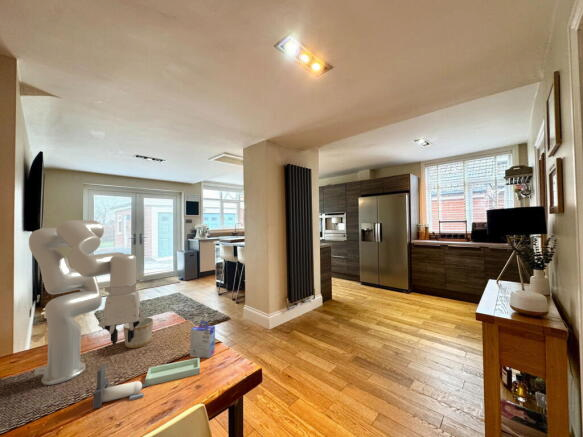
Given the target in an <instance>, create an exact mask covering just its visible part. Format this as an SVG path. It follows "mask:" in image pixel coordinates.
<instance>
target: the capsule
mask: <svg viewBox="0 0 583 437" xmlns="http://www.w3.org/2000/svg"><path fill="white" fill-rule="evenodd" d="M142 384H143V383H142V382H141V381H139V380H135V381H131V382H127V383H123V384H117V385H113V386H108V388H104V390H103V391H102V403H105V402H111V401H114V400H119V399H123V398H126V397H130V396H133V395H137V394H140V392H141V390H142Z"/></svg>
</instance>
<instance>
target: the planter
mask: <svg viewBox="0 0 583 437" xmlns="http://www.w3.org/2000/svg"><path fill="white" fill-rule="evenodd" d="M138 319H140V318H138ZM135 322H136V321H135ZM153 324H154V319H153V318H152V317H146V318H145V320H144V321H142V322H141V323H139V324H138V325H137V326H136V327H135V328H134V338H132V340H131V342H128V331H129V323H126V324H122V325H123V337H124V345H125V347H126V348H128V349H137V348H142V347H144V346H146V345H147V344H149V343H150V341H152V335H153V334H152V333H153Z"/></svg>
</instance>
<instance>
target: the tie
mask: <svg viewBox="0 0 583 437" xmlns="http://www.w3.org/2000/svg"><path fill="white" fill-rule="evenodd" d="M96 374H97V375H96V380H97V381H96V388H95V390H94V391H93V393H92V394H93V396H92V398H93V399H92V403H93V404H92V409H93V410H96V409H99V408H101V407H102V403H103V402H102V391H103V390H104V388H108V387H109V378H106V364H105V363H104V364H101V365H100V367H99V368H98V370H97V371H96Z"/></svg>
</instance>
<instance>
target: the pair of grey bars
mask: <svg viewBox="0 0 583 437" xmlns="http://www.w3.org/2000/svg"><path fill="white" fill-rule="evenodd" d="M146 387H148V386H147V384H145V382H144V383H142V388H146ZM144 396H145V392H142V393H137V394H135V395H131V396H129V401H133V400H137V399H142V398H144Z"/></svg>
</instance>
